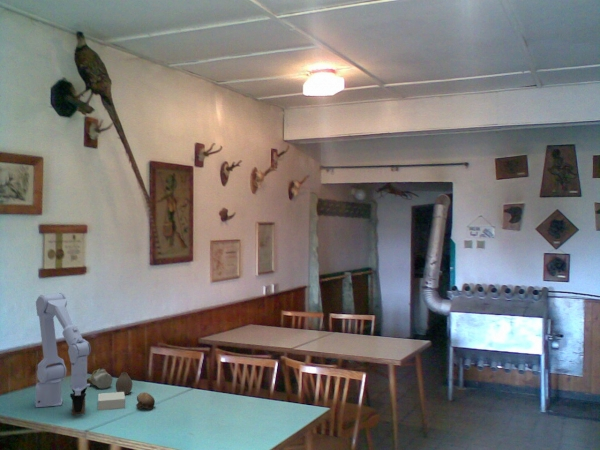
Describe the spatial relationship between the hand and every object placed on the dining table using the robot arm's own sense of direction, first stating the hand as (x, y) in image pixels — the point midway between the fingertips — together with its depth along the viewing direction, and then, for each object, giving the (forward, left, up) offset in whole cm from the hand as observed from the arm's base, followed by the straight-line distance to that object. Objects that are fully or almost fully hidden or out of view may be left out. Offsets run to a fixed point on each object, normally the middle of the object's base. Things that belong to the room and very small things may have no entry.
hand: (78, 408), depth 224 cm
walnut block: (0, 0, -2) cm, 2 cm away
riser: (+12, +6, -2) cm, 14 cm away
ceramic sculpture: (+7, +35, -2) cm, 36 cm away
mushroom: (+25, -1, -2) cm, 25 cm away
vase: (+17, +21, -2) cm, 27 cm away
